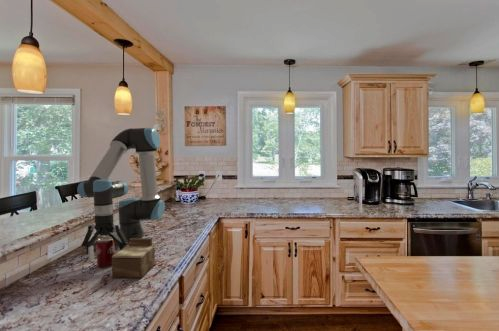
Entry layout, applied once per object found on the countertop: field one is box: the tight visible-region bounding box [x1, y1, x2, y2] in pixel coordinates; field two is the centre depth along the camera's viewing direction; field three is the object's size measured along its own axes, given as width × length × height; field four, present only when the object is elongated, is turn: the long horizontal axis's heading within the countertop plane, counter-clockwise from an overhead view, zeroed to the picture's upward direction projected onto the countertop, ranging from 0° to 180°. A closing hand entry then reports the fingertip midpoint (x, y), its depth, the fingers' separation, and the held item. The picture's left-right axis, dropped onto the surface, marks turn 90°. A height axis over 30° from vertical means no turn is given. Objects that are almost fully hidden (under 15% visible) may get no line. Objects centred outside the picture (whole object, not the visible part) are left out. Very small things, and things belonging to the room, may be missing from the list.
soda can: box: [95, 236, 116, 270], centre depth 131 cm, size 7×7×12 cm
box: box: [111, 247, 156, 280], centre depth 124 cm, size 14×12×8 cm
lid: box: [112, 237, 155, 258], centre depth 124 cm, size 14×12×4 cm
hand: (106, 260), depth 131 cm, fingers open, 13 cm apart
